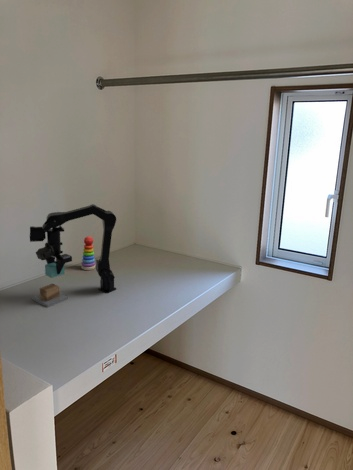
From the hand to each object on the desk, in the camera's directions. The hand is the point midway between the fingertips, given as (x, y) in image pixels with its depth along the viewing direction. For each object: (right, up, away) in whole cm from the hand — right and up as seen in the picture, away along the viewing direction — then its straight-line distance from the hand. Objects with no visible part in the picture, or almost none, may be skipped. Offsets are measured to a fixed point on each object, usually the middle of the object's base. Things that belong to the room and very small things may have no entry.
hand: (55, 272), depth 177 cm
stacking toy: (+7, -2, +38) cm, 39 cm away
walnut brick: (-1, -11, -3) cm, 12 cm away
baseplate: (-1, -12, -2) cm, 13 cm away
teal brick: (0, -1, 0) cm, 1 cm away
